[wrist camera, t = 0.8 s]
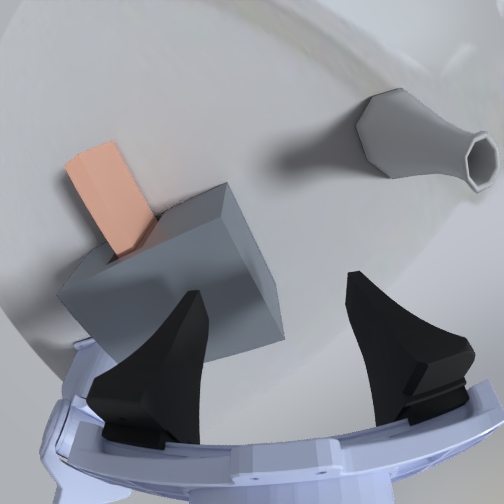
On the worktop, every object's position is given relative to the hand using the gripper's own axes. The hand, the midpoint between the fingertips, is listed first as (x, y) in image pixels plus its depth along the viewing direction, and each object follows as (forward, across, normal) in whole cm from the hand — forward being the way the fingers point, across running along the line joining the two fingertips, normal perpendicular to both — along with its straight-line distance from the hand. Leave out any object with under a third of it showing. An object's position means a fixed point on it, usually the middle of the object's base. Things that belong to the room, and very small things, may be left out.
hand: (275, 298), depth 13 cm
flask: (+11, -11, -6) cm, 17 cm away
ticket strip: (+9, +9, 0) cm, 13 cm away
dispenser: (+9, +8, +4) cm, 13 cm away
